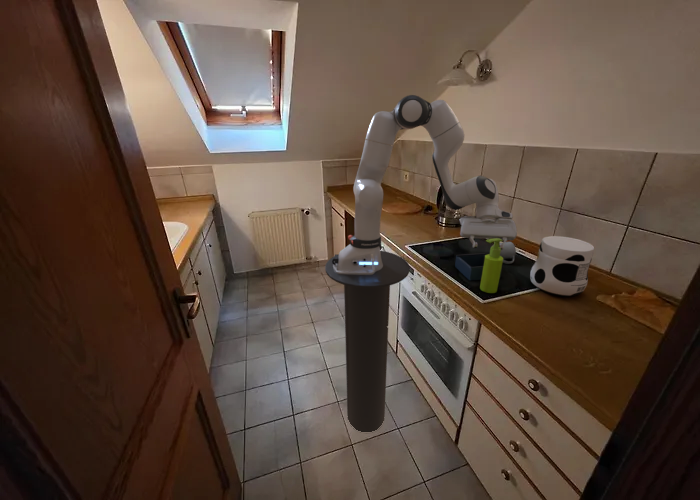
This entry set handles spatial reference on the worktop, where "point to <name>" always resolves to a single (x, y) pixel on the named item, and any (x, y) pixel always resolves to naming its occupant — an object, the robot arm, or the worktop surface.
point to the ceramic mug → (508, 252)
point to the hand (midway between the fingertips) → (488, 248)
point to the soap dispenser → (492, 267)
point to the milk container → (562, 265)
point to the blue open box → (469, 260)
